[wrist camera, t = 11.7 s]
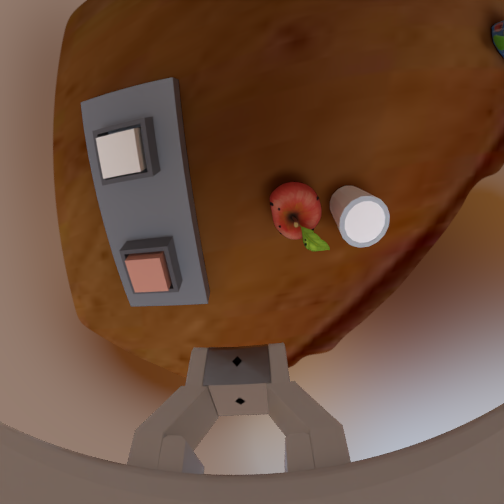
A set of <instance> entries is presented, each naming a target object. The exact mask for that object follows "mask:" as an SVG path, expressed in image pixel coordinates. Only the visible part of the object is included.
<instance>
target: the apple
mask: <svg viewBox="0 0 504 504" xmlns="http://www.w3.org/2000/svg"><path fill="white" fill-rule="evenodd" d="M270 205H271V211H272V216H273V221H274V225H275V227H276V228H277V230H278V231H279V232H280V234H283V235H284V236H285V237H287V238H289V239H301V238H303V243H304V245H305V247H306V248H307V249H308V250H309V249H310V250H311V251H322V250H330V248H329V246H328V244H327V243H326V242H325V241H323V240H321V238H320V237H319V236H318V235H317V234H315V233H313V232H314V231H313V230H314V228H315V227H316V225H317V224H318V222H319V220H320V217H321V204H320V200H319V197H318V196H317V194H316V193H315V191H314V190H313V189H312V188H311V187H310V186H308V185H306V184H304V183H300V182H288V183H285V184H282V185H280V186H279V187H277V188H276V189H275V190H274V191H273V192H272V193H271V195H270Z"/></svg>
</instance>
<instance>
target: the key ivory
mask: <svg viewBox="0 0 504 504" xmlns="http://www.w3.org/2000/svg"><path fill="white" fill-rule="evenodd" d="M96 142H97V148H98V154H99V160H100V165H101V170H102V175H103V179H105V178H110V177H115V176H120V175H125V174H130V173H136V172H141V171H142V170H144V169H146V168H147V165H146V159H145V153H144V147H143V140H142V133H141V127H139V128H134V129H130V130H125V131H121V132H117V133H113V134H109V135H106V136H102V137H98V138H96Z"/></svg>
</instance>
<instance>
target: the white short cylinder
mask: <svg viewBox="0 0 504 504" xmlns="http://www.w3.org/2000/svg"><path fill="white" fill-rule="evenodd" d="M330 211H331V213H332V215H333V218H334V220H335V222H336V224H337V226H338V228H339V231H340V233H341V235H342V237H343V239H344V240H345V241H346V242H347V243H349V244H350V245H352V246H355V247H368V246H370V245H372V244H375V243H377V242H378V241H379V240H380V239H381V238H382V237H383V236H384V235H385V233H386V230H387V228H388V226H389V218H390V215H389V212H388V208H387V206H386V205H385V204H384V203H383V201H382V200H381V199H379V198H377V197H375V196H373V195H371V194H369V193H367V192H365V191H363V190H361V189H360V188H357V187H355V186H352V185H351V186H343V187H341V188H339V189H337V191H336V192H335V193H334V194H333V195H332V197H331V200H330Z"/></svg>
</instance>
